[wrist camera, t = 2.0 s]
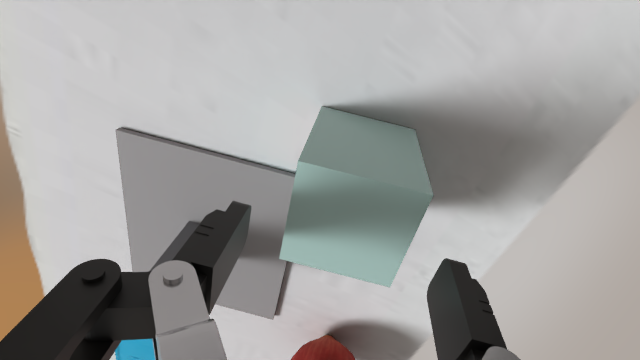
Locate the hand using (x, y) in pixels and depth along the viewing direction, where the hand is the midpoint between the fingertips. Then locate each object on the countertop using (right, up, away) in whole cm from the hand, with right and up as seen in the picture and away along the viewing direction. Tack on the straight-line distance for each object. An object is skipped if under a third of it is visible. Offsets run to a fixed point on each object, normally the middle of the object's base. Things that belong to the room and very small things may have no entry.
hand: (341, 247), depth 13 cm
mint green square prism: (+1, +4, +6) cm, 7 cm away
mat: (-9, -1, +11) cm, 14 cm away
